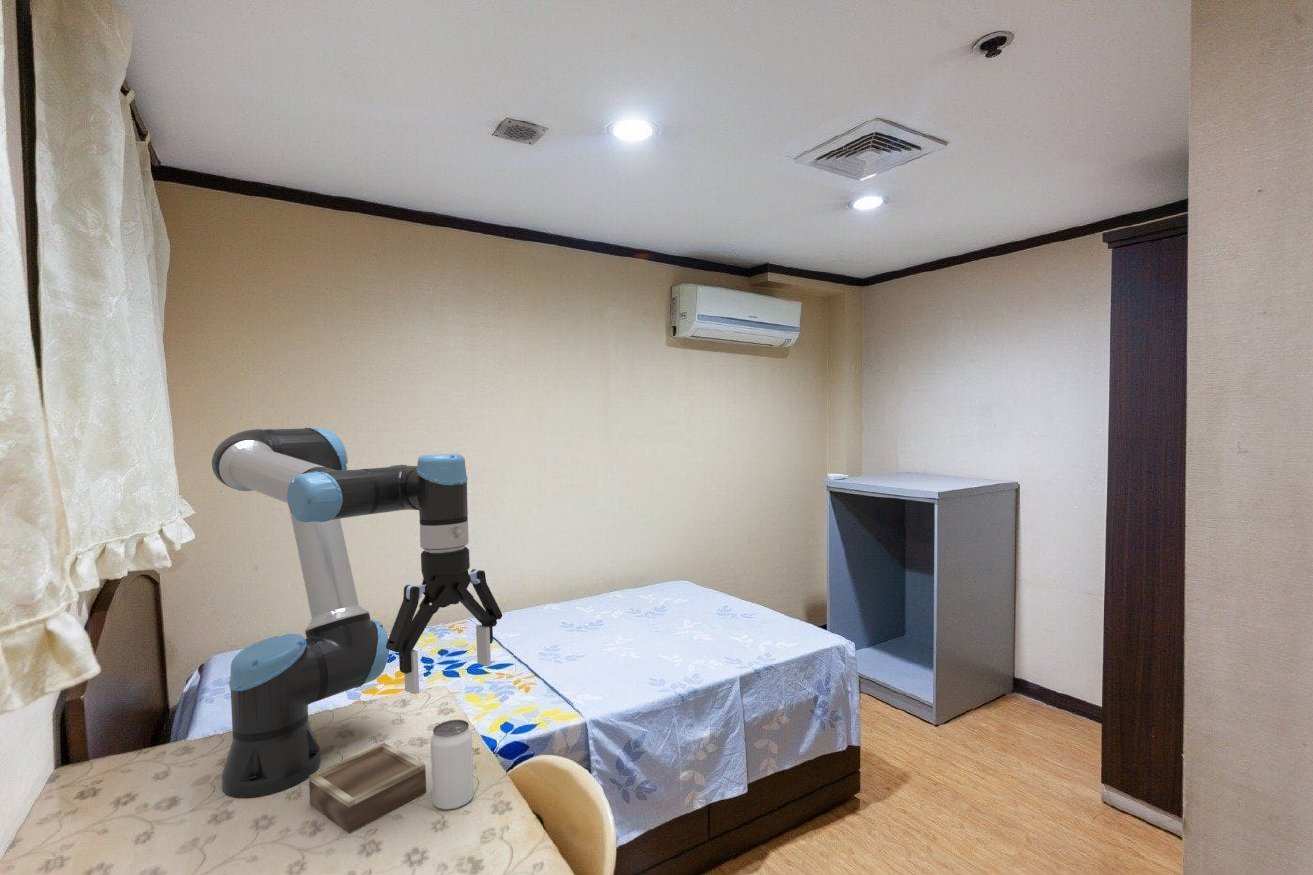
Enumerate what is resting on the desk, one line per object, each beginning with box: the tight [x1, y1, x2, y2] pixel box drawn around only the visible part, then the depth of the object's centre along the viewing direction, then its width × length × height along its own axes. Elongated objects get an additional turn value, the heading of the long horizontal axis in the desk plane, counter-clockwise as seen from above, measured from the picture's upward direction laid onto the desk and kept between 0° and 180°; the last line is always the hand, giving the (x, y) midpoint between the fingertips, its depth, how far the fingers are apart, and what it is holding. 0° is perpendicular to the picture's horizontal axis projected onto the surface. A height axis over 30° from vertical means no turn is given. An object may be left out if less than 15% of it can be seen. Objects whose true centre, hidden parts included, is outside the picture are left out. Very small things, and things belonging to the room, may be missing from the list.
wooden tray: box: [308, 742, 427, 834], centre depth 105 cm, size 13×13×5 cm
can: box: [430, 719, 475, 811], centre depth 104 cm, size 6×6×12 cm
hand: (449, 677), depth 103 cm, fingers open, 13 cm apart
